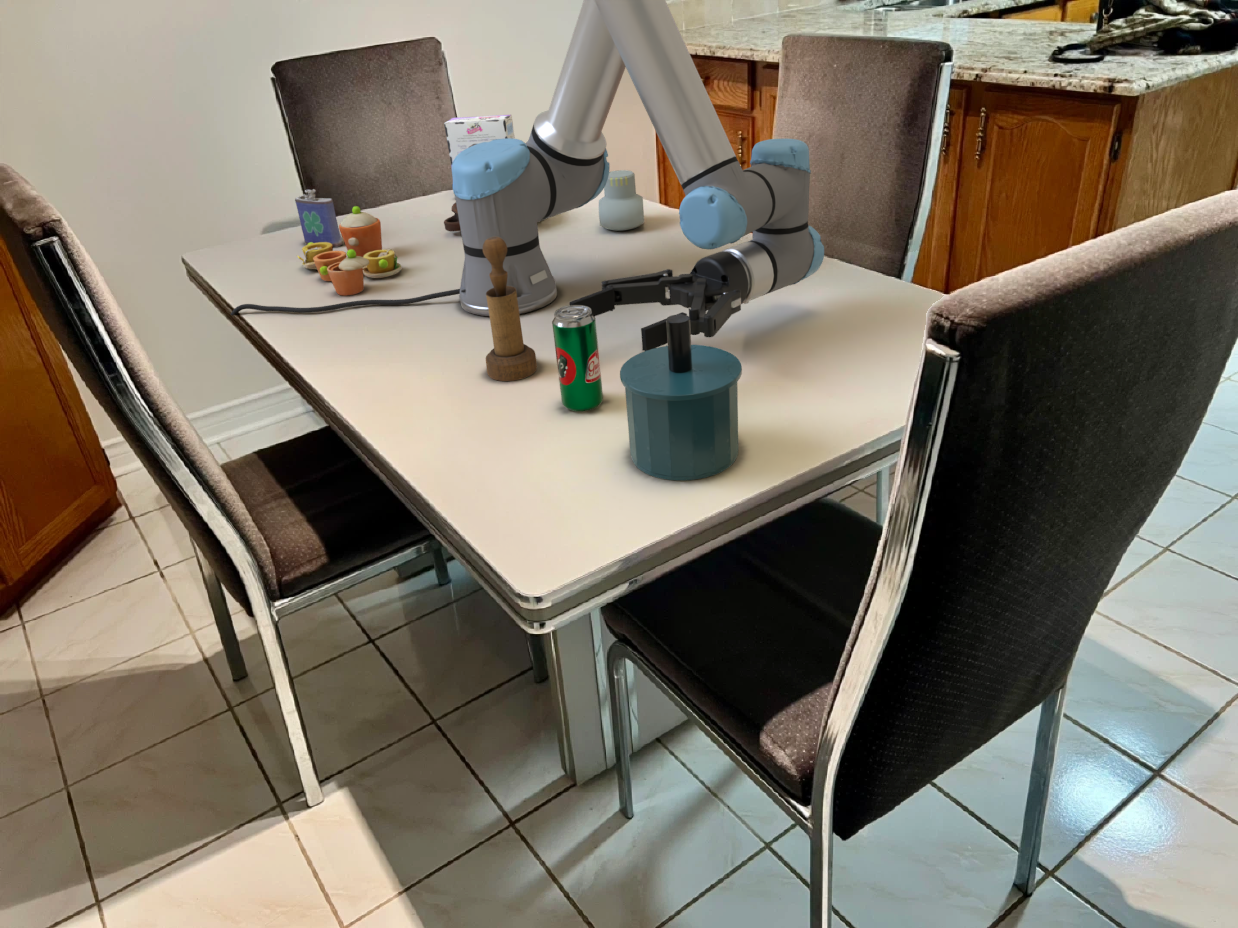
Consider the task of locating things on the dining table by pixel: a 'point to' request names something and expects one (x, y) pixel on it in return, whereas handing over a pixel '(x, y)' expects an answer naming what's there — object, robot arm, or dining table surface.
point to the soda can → (577, 358)
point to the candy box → (476, 131)
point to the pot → (683, 435)
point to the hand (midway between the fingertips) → (606, 326)
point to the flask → (318, 219)
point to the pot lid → (680, 367)
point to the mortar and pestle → (505, 322)
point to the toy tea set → (353, 255)
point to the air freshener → (621, 202)
